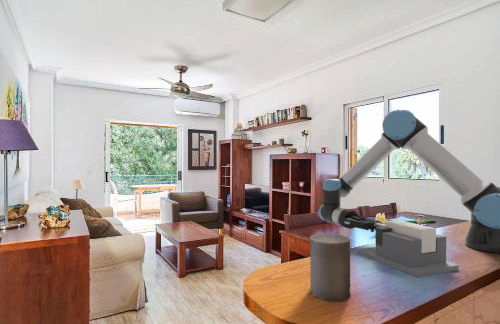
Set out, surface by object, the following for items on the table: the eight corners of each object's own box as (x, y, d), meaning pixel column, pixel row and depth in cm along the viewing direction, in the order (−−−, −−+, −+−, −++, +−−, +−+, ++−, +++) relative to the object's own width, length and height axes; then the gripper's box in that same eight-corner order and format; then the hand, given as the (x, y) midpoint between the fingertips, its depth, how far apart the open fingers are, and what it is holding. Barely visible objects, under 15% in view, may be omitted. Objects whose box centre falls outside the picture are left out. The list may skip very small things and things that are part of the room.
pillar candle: (357, 292, 76) (356, 232, 76) (339, 306, 69) (339, 239, 69) (321, 282, 82) (321, 226, 82) (302, 293, 75) (302, 232, 75)
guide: (358, 253, 108) (358, 223, 108) (394, 248, 114) (394, 220, 114) (417, 277, 86) (417, 240, 86) (458, 269, 92) (458, 235, 92)
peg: (384, 241, 104) (385, 221, 104) (398, 240, 106) (398, 219, 106) (421, 253, 91) (421, 229, 91) (435, 251, 93) (436, 228, 93)
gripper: (358, 225, 129) (404, 239, 107) (332, 228, 125) (375, 243, 103) (358, 208, 129) (404, 218, 107) (332, 209, 125) (375, 220, 103)
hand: (390, 230), depth 105 cm, fingers closed
